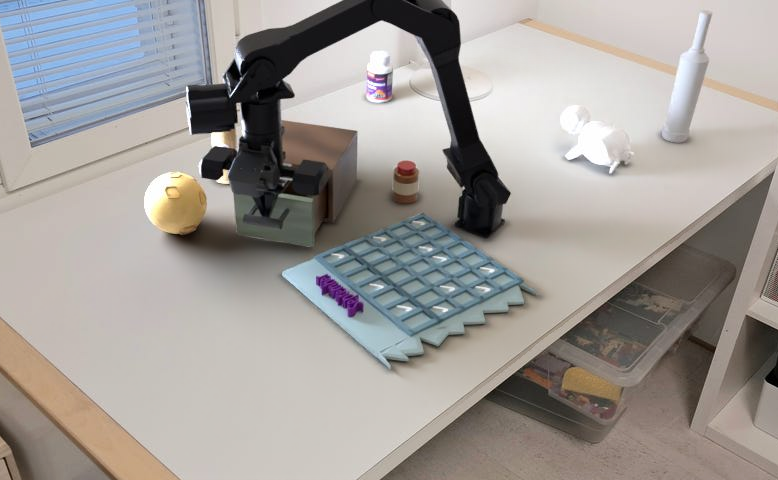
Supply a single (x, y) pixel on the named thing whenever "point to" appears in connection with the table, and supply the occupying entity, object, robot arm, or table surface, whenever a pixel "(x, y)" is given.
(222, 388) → the table surface
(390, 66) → the pill bottle
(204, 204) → the stress ball
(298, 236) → the drawer
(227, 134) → the sprinkles bottle
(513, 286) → the calendar
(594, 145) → the white animal figurine
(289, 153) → the cabinet
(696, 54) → the bottle
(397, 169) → the spice bottle
